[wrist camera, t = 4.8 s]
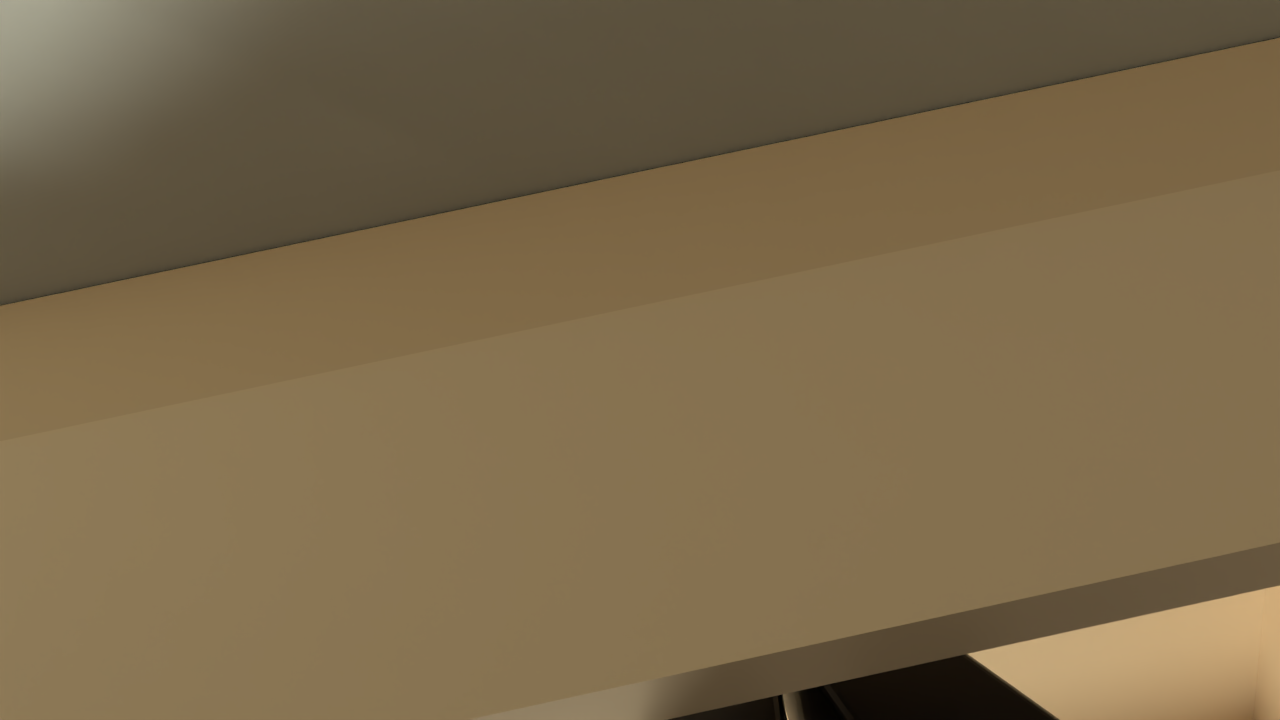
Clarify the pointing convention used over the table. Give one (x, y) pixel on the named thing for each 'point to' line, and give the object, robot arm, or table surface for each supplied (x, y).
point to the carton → (704, 261)
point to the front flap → (678, 491)
